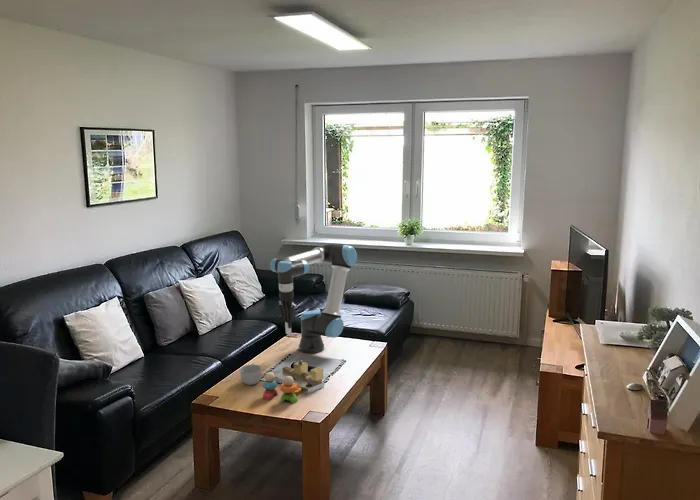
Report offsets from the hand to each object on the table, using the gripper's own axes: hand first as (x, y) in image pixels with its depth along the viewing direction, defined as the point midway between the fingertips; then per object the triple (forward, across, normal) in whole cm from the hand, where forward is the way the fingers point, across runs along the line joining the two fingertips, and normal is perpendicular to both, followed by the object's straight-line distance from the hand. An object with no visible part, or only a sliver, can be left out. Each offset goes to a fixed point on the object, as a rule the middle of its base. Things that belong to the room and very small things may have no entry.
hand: (288, 333), depth 301 cm
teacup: (+21, -5, -22) cm, 31 cm away
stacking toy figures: (+21, +20, -25) cm, 38 cm away
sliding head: (+18, +14, -9) cm, 25 cm away
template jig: (+21, +15, -10) cm, 27 cm away
